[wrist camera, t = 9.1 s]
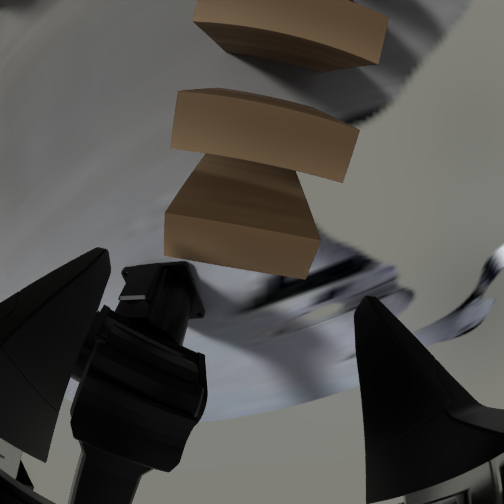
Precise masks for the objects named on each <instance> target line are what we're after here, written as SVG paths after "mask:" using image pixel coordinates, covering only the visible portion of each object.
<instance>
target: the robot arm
mask: <svg viewBox="0 0 504 504" xmlns="http://www.w3.org/2000/svg"><path fill="white" fill-rule="evenodd" d="M180 267H183V268H184V269H183V268H180ZM126 272H127V273H128V274H127V273H126ZM110 273H111V265H110V258H109V252H108V250H107V249H104V248H100V247H97V248H94V249H93V250H91V251H89V252H87V253H85V254H83V255H81V256H79V257H77V258H76V259H74V260H72V261H70V262H68V263H66V264H65V265H63V266H61V267H59V268H58V269H56V270H54V271H52V272H50V273H49V274H47V275H45V276H44V277H42V278H40V279H38V280H37V281H35V282H33V283H32V284H30V285H28V286H27V287H25V288H23V289H22V290H20V292H17V293H15V294H14V295H12V296H11V297H9V298H7V299H6V300H4V301H2V302H1V303H0V504H55V503H53V502H52V501H50V500H48V499H46V498H44V497H43V496H41V495H39V494H38V493H36V492H34V491H33V489H34V486H33V484H32V482H31V480H30V478H29V476H28V474H27V472H26V470H25V468H24V465H23V463H22V461H21V456H22V452H25V453H27V454H29V455H31V456H33V457H35V458H37V459H39V460H41V461H43V462H45V463H46V461H47V458H48V453H49V449H50V444H51V440H52V436H53V432H54V429H55V425H56V421H57V418H58V414H59V413H58V412H59V410H60V407H61V404H62V400H63V398H64V394H65V391H66V388H67V385H68V383H69V380H70V377H71V378H72V379H74V380H76V381H78V382H80V383H79V386H78V388H77V391H76V394H75V397H74V400H73V403H72V406H71V410H70V414H71V422H70V423H71V428H72V433H73V437H74V438H75V439H77V440H79V443H80V446H81V449H82V450H81V454H80V457H79V461H78V465H77V468H76V472H75V475H74V479H73V483H72V487H71V492H70V496H69V501H68V504H132V501H133V498H134V495H135V493H136V490H137V487H138V484H139V481H140V479H141V477H142V475H144V474H146V473H148V472H149V471H151V470H153V469H157V470H160V471H165V472H170V471H171V470H172V469H173V468H175V467H176V466H177V465H178V464H179V462H180V460H181V456H182V453H183V450H184V447H185V444H186V441H187V439H188V437H189V435H190V432H191V431H192V429H193V427H194V426H195V425H196V424H197V423H198V422H199V420H200V419H201V417H202V415H203V412H204V410H205V407H206V403H207V396H208V391H207V378H206V365H205V355H204V354H201V353H199V352H198V353H196V352H194V351H192V350H190V349H187V348H185V347H183V341H184V337H185V333H186V329H187V325H188V321H189V319H192V318H203V317H204V315H205V310H204V308H203V305H202V302H201V300H200V297H199V294H198V292H197V289H196V286H195V283H194V281H193V278H192V275H191V272H190V269H189V267H188V264H187V263H186V262H183V261H179V262H170V263H155V264H146V265H137V266H132V267H125V268H124V269H123V270H122V272H121V274H122V276H123V278H124V280H125V282H126V284H125V286H124V288H123V290H122V292H121V294H120V296H119V301H120V302H119V304H118V306H117V308H116V310H115V312H114V311H112V310H111V309H110V308H109V307H108V306H106V305H104V306H103V308H102V309H101V311H100V312H99V311H98V312H97V310H98V307H99V305H100V302H101V299H102V296H103V293H104V290H105V287H106V285H107V282H108V279H109V276H110ZM354 326H355V348H356V358H357V366H358V374H359V382H360V391H361V399H362V411H363V423H364V436H365V454H366V456H365V458H366V460H365V461H366V504H370V503H375V502H380V501H384V500H388V499H392V498H396V497H400V496H404V502H402V503H399V504H504V410H503V409H496V408H490V407H486V406H484V405H482V404H480V403H479V402H477V401H476V400H475V399H474V398H473V397H472V396H471V395H470V394H469V393H468V392H467V391H466V390H465V389H464V388H463V387H462V386H461V385H460V384H459V383H458V382H457V381H456V380H455V379H454V378H453V377H452V376H451V375H450V374H449V373H448V372H447V370H446V369H445V368H444V367H443V366H442V365H441V364H440V363H439V362H438V361H437V360H435V358H434V356H433V355H432V354H431V353H430V352H429V351H428V350H427V349H426V348H425V347H424V346H423V345H422V343H421V342H420V341H419V340H418V339H417V338H416V337H415V336H414V335H413V334H412V333H411V332H410V331H409V330H408V329H407V328H406V327H405V326H404V325H403V324H402V323H401V322H400V321H399V320H398V319H397V318H396V317H395V316H394V314H393V313H392V312H391V311H390V310H389V309H388V308H387V307H386V306H385V305H384V304H383V303H381V302H380V301H379V300H378V299H377V298H376V297H374V296H368V295H367V296H365V297H364V298H363V299H362V301H361V302H360V304H359V306H358V307H357V309H356V311H355V313H354Z"/></svg>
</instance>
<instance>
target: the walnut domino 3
mask: <svg viewBox="0 0 504 504" xmlns="http://www.w3.org/2000/svg"><path fill="white" fill-rule="evenodd" d="M320 241H321V240H320V237H319V234H318V231H317V228H316V225H315V222H314V219H313V217H312V214H311V211H310V208H309V205H308V203H307V200H306V198H305V195H304V192H303V189H302V187H301V184H300V182H299V179H298V176H297V174H296V171H295V170H291V169H286V168H282V167H277V166H273V165H268V164H263V163H258V162H253V161H248V160H243V159H238V158H232V157H226V156H220V155H214V154H208V153H206V154H205V155H204V157H203V158H202V159H201V161H200V162H199V164H198V165H197V166H196V168H195V169H194V170H193V172H192V173H191V175H190V176H189V178H188V179H187V180H186V182H185V183H184V185H183V186H182V188H181V189H180V191H179V192H178V194H177V195H176V197H175V198H174V200H173V201H172V203H171V204H170V206H169V207H168V209H167V210H166V212H165V225H164V256H170V257H175V258H181V259H186V260H192V261H198V262H203V263H209V264H215V265H221V266H226V267H232V268H238V269H244V270H250V271H256V272H262V273H268V274H274V275H281V276H287V277H293V278H299V279H306V277H307V274H308V272H309V269H310V267H311V264H312V262H313V259H314V257H315V254H316V251H317V249H318V246H319V244H320Z"/></svg>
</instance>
